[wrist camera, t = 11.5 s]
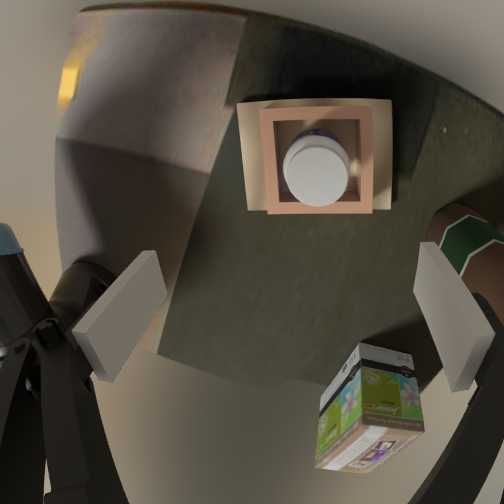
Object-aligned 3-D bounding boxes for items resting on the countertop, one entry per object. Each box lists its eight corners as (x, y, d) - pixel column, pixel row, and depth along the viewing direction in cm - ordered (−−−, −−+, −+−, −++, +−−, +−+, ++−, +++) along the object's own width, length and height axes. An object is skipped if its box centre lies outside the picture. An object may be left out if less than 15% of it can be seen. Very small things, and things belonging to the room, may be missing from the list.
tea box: (356, 339, 43) (362, 424, 30) (412, 352, 42) (429, 431, 30) (318, 396, 50) (313, 470, 37) (368, 406, 50) (371, 475, 37)
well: (272, 202, 34) (268, 214, 31) (264, 108, 30) (258, 109, 27) (366, 202, 32) (371, 213, 29) (365, 106, 28) (372, 106, 25)
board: (250, 206, 36) (248, 210, 35) (239, 103, 31) (236, 103, 30) (388, 205, 33) (390, 209, 32) (388, 99, 28) (391, 99, 27)
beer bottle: (478, 197, 30) (603, 320, 9) (475, 253, 33) (565, 393, 12) (424, 204, 32) (531, 351, 11) (425, 262, 35) (494, 424, 14)
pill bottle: (303, 118, 30) (300, 125, 21) (353, 144, 30) (369, 163, 21) (279, 165, 32) (266, 192, 24) (327, 190, 33) (332, 226, 24)
